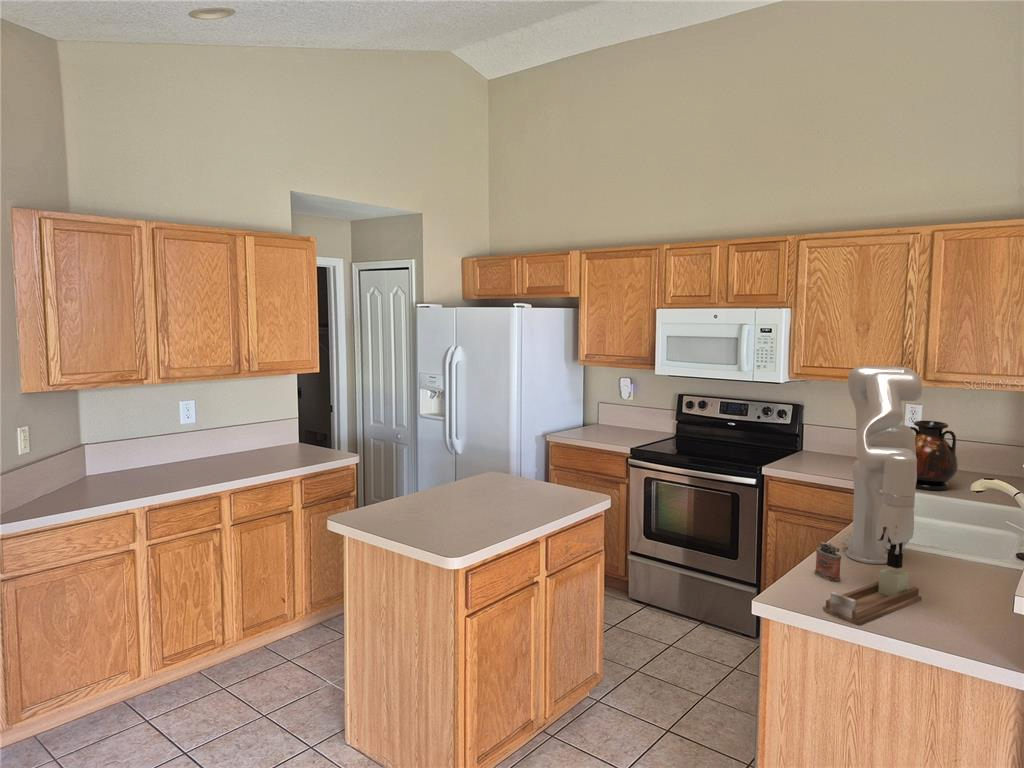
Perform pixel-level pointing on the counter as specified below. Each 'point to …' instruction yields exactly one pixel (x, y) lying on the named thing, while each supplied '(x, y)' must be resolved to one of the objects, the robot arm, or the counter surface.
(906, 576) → the block
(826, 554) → the lighter
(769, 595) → the counter surface
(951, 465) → the amphora vase
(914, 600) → the chute
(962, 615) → the counter surface
